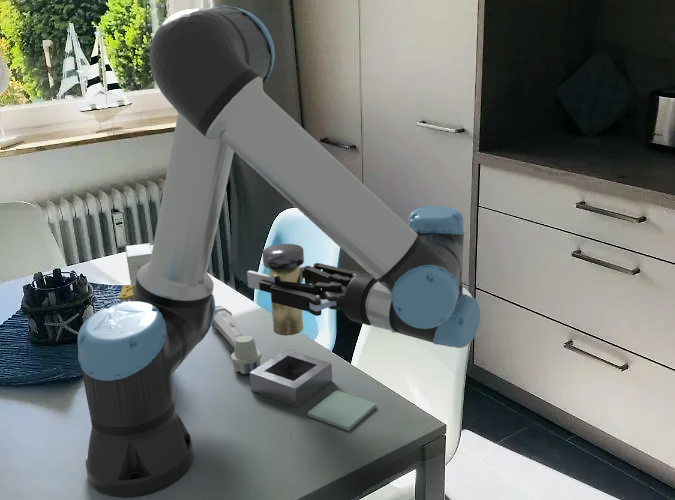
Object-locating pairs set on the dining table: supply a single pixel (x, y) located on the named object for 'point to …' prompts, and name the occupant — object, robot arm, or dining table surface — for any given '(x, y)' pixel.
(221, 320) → the white handheld tool
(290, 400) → the box
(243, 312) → the dining table surface
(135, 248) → the small box
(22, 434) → the dining table surface
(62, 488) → the dining table surface
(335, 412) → the mat
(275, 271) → the tan and grey cylinder
